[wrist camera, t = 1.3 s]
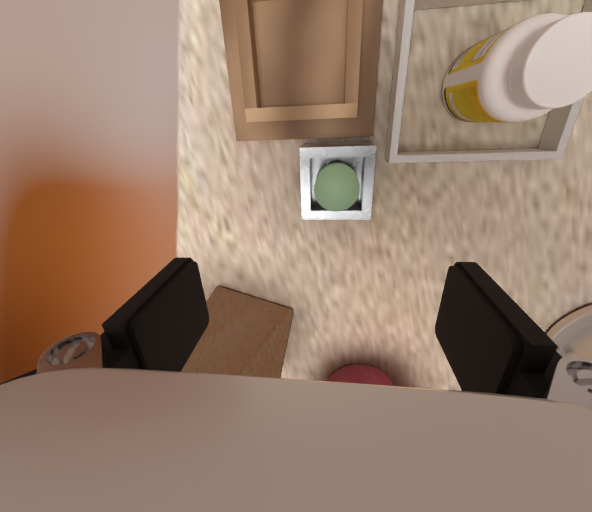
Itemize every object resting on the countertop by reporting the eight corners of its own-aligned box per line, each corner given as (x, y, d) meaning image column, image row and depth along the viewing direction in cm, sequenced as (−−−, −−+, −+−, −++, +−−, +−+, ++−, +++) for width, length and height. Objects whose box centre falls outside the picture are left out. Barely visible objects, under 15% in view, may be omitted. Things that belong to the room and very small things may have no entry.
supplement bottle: (497, 125, 23) (593, 130, 15) (431, 117, 24) (488, 118, 15) (528, 45, 21) (665, -4, 12) (454, 38, 21) (537, -15, 13)
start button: (358, 160, 23) (361, 165, 21) (356, 203, 25) (358, 211, 23) (315, 161, 24) (313, 166, 21) (315, 203, 25) (314, 211, 23)
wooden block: (206, 341, 39) (98, 531, 21) (217, 283, 34) (91, 464, 16) (274, 362, 39) (226, 567, 21) (294, 308, 34) (254, 512, 17)
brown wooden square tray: (384, -51, 20) (391, -75, 17) (370, 135, 25) (374, 137, 23) (220, -32, 21) (205, -51, 19) (240, 139, 26) (231, 142, 24)
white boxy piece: (370, 141, 25) (376, 145, 22) (365, 206, 28) (370, 219, 24) (304, 143, 26) (299, 147, 22) (305, 206, 29) (301, 219, 25)
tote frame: (600, -18, 19) (631, -33, 17) (543, 155, 24) (561, 159, 22) (400, 0, 21) (407, -11, 19) (384, 159, 26) (389, 163, 24)
